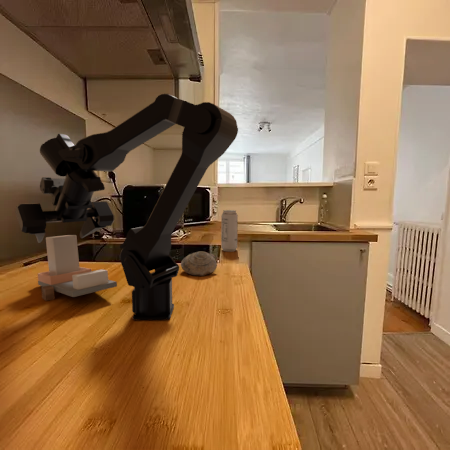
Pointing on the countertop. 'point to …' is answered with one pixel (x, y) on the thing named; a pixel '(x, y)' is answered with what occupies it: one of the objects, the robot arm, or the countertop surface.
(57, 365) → the countertop surface
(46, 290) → the pivot stand
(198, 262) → the fossilized seashell
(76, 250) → the grey block
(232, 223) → the energy drink can
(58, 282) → the board
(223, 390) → the countertop surface
